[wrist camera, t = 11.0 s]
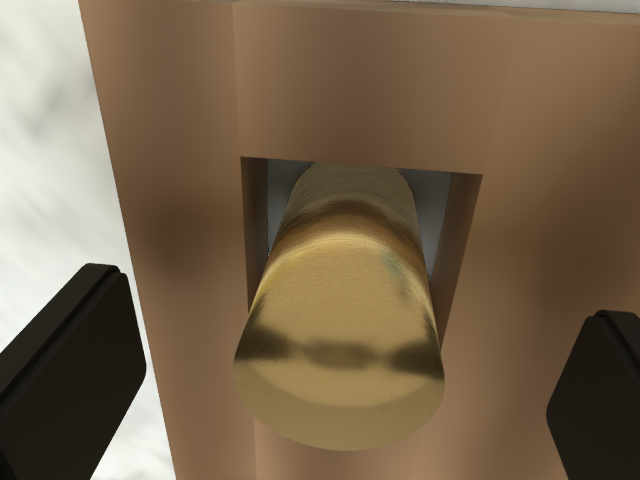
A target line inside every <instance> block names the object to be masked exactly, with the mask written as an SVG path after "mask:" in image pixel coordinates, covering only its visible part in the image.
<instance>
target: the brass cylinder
mask: <svg viewBox="0 0 640 480" xmlns="http://www.w3.org/2000/svg"><path fill="white" fill-rule="evenodd" d="M233 378H234V383H235V386H236V389H237V392H238V394H239V396H240V398H241V400H242V401H243V403H244V404H245V406H246V407H247V408H248V410H249V411H250V412H251V413H252V414H253V415H254V416H255V417H256V418H257V419H258V420H259V421H261V422H262V423H263V424H264V425H266V426H267V427H269V428H270V429H272V430H273V431H275V432H277V433H278V434H280V435H282V436H284V437H286V438H289V439H291V440H293V441H296V442H299V443H302V444H305V445H308V446H312V447H317V448H322V449H328V450H339V451H358V450H368V449H373V448H379V447H383V446H386V445H390V444H393V443H395V442H398V441H400V440H403V439H405V438H406V437H408V436H410V435H412V434H413V433H415V432H416V431H418V430H419V429H421V428H422V427H423V426H424V425H425V424H426V423H427V422H428V421H429V420H430V419H431V418H432V417H433V415H434V414H435V413H436V411H437V409H438V408H439V406H440V404H441V401H442V398H443V395H444V389H445V375H444V369H443V363H442V358H441V352H440V346H439V340H438V335H437V329H436V323H435V317H434V312H433V306H432V300H431V294H430V288H429V283H428V277H427V271H426V265H425V260H424V254H423V248H422V242H421V236H420V231H419V225H418V219H417V213H416V208H415V202H414V197H413V194H412V191H411V189H410V187H409V185H408V183H407V181H406V180H405V179H404V177H403V176H402V175H401V174H400V173H399V172H398V171H397V170H396V169H395V168H391V167H377V166H364V165H351V164H337V163H324V162H316V163H314V164H313V165H312V166H310V167H309V168H308V169H307V170H306V171H305V172H304V173H303V174H302V175H301V176H300V177H299V179H298V180H297V182H296V183H295V185H294V187H293V190H292V192H291V195H290V198H289V201H288V204H287V207H286V209H285V212H284V215H283V218H282V221H281V224H280V227H279V229H278V232H277V235H276V238H275V241H274V244H273V247H272V250H271V252H270V255H269V258H268V261H267V264H266V267H265V270H264V272H263V275H262V278H261V281H260V284H259V287H258V290H257V292H256V295H255V298H254V301H253V304H252V307H251V310H250V313H249V315H248V318H247V321H246V324H245V327H244V330H243V333H242V335H241V338H240V341H239V344H238V347H237V350H236V353H235V356H234V361H233Z"/></svg>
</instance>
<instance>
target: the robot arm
mask: <svg viewBox="0 0 640 480" xmlns="http://www.w3.org/2000/svg"><path fill="white" fill-rule="evenodd" d="M145 375H146V360H145V356H144V351H143V346H142V342H141V337H140V332H139V328H138V323H137V318H136V314H135V309H134V304H133V300H132V295H131V290H130V286H129V281H128V278H127V275H126V274H124V273H121V272H120V269H119V268H118V267H117V266H115V265H106V264H95V263H88V264H85V265H84V266H83V267H82V268H81V269H80V270H79V271H78V272H77V273H76V274H75V275H74V276H73V277H72V278H71V279H70V280H69V281H68V282H67V283H66V284H65V286H64V287H63V288H62V289H61V290H60V291H59V292H58V293H57V294H56V295H55V296H54V297H53V298H52V299H51V300H50V301H49V302H48V303H47V305H46V306H45V307H44V308H43V309H42V310H41V311H40V312H39V313H38V314H37V315H36V316H35V317H34V318H33V319H32V320H31V321H30V323H29V324H28V325H27V326H26V327H25V328H24V329H23V330H22V331H21V332H20V333H19V334H18V335H17V336H16V337H15V338H14V339H13V340H12V342H11V343H10V344H9V345H8V346H7V347H6V348H5V349H4V350H3V351H2V352H1V353H0V480H90V479H91V477H92V475H93V473H94V471H95V469H96V468H97V466H98V464H99V462H100V460H101V458H102V456H103V455H104V453H105V451H106V449H107V447H108V445H109V444H110V442H111V440H112V438H113V436H114V434H115V433H116V431H117V429H118V427H119V425H120V423H121V422H122V420H123V418H124V416H125V414H126V412H127V411H128V409H129V407H130V405H131V403H132V401H133V400H134V398H135V396H136V394H137V392H138V390H139V388H140V387H141V385H142V383H143V381H144V378H145ZM546 419H547V424H548V427H549V430H550V432H551V435H552V438H553V440H554V443H555V446H556V448H557V451H558V454H559V456H560V459H561V461H562V464H563V467H564V469H565V472H566V475H567V477H568V480H640V318H639V317H638V316H637V315H636V314H635V313H632V312H625V311H614V310H599V311H597V312H596V313H595V315H594V316H588V317H587V318H586V319H585V321H584V323H583V325H582V328H581V330H580V332H579V335H578V337H577V339H576V341H575V344H574V346H573V348H572V350H571V353H570V355H569V357H568V360H567V362H566V364H565V366H564V369H563V371H562V373H561V375H560V378H559V380H558V382H557V385H556V387H555V389H554V391H553V394H552V396H551V398H550V400H549V403H548V405H547V409H546Z"/></svg>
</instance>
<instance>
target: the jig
mask: <svg viewBox="0 0 640 480" xmlns="http://www.w3.org/2000/svg"><path fill="white" fill-rule="evenodd" d="M78 3H79V7H80V12H81V17H82V22H83V27H84V32H85V37H86V42H87V46H88V51H89V56H90V61H91V66H92V71H93V76H94V81H95V85H96V90H97V95H98V100H99V105H100V110H101V115H102V120H103V124H104V129H105V134H106V139H107V144H108V149H109V154H110V159H111V163H112V168H113V173H114V178H115V183H116V188H117V193H118V198H119V202H120V207H121V212H122V217H123V222H124V227H125V232H126V237H127V241H128V246H129V251H130V256H131V261H132V266H133V271H134V276H135V280H136V285H137V290H138V295H139V300H140V305H141V310H142V315H143V319H144V324H145V329H146V334H147V339H148V344H149V349H150V354H151V358H152V363H153V368H154V373H155V378H156V383H157V388H158V393H159V397H160V402H161V407H162V412H163V417H164V422H165V427H166V432H167V436H168V441H169V446H170V451H171V456H172V461H173V466H174V471H175V475H176V480H568V477H567V475H566V472H565V469H564V467H563V464H562V461H561V459H560V456H559V454H558V451H557V448H556V446H555V443H554V440H553V438H552V435H551V432H550V430H549V427H548V424H547V419H546V409H547V405H548V403H549V400H550V398H551V396H552V394H553V391H554V389H555V387H556V385H557V382H558V380H559V378H560V375H561V373H562V371H563V369H564V366H565V364H566V362H567V360H568V357H569V355H570V353H571V350H572V348H573V346H574V344H575V341H576V339H577V337H578V335H579V332H580V330H581V328H582V325H583V323H584V321H585V319H586V318H587V317H588V316H594V315H595V313H596V312H597V311H599V310H614V311H625V312H632V313H635V314H636V315H637V316H638V317H639V318H640V14H635V13H616V12H597V11H578V10H559V9H540V8H520V7H501V6H482V5H463V4H444V3H425V2H406V1H387V0H78ZM266 158H270V159H283V160H297V161H310V162H324V163H337V164H351V165H364V166H377V167H391V168H404V169H418V170H431V171H445V172H454V173H453V177H452V182H451V187H450V192H449V197H448V202H447V207H446V212H445V217H444V222H443V226H442V231H441V236H440V241H439V246H438V251H437V256H436V261H435V266H434V271H433V276H432V280H431V285H430V294H431V300H432V306H433V312H434V317H435V323H436V329H437V335H438V340H439V346H440V352H441V358H442V363H443V369H444V375H445V389H444V395H443V398H442V401H441V404H440V406H439V408H438V409H437V411H436V413H435V414H434V415H433V417H432V418H431V419H430V420H429V421H428V422H427V423H426V424H425V425H424V426H423V427H422V428H421V429H419V430H418V431H416V432H415V433H413V434H412V435H410V436H408V437H406V438H405V439H403V440H400V441H398V442H395V443H393V444H390V445H386V446H383V447H379V448H373V449H368V450H358V451H339V450H328V449H322V448H317V447H312V446H308V445H305V444H302V443H299V442H296V441H293V440H291V439H289V438H286V437H284V436H282V435H280V434H278V433H277V432H275V431H273V430H272V429H270V428H269V427H267V426H266V425H264V424H263V423H262V422H261V421H259V420H258V419H257V418H256V417H255V416H254V415H253V414H252V413H251V412H250V411H249V410H248V408H247V407H246V406H245V404H244V403H243V401H242V400H241V398H240V396H239V394H238V392H237V389H236V386H235V383H234V378H233V361H234V356H235V353H236V350H237V347H238V344H239V341H240V338H241V335H242V333H243V330H244V327H245V324H246V321H247V318H248V315H249V313H250V310H251V307H252V304H253V301H254V298H255V295H256V292H257V290H258V287H259V284H260V281H261V278H262V275H263V272H264V270H265V267H266V264H267V261H268V220H267V173H266Z"/></svg>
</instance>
